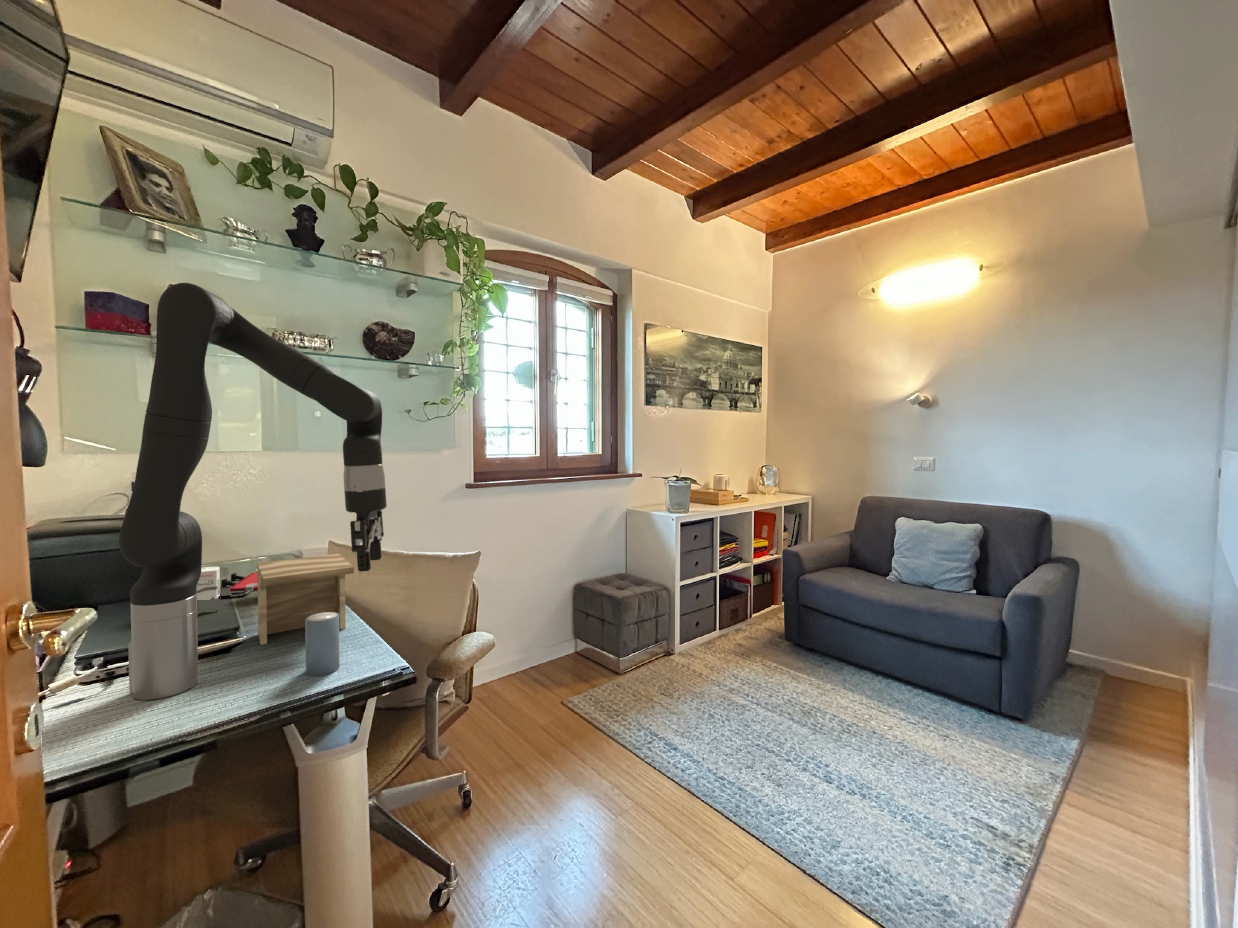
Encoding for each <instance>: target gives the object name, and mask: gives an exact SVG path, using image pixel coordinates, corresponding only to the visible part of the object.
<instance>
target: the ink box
mask: <svg viewBox="0 0 1238 928" xmlns="http://www.w3.org/2000/svg"><path fill="white" fill-rule="evenodd" d="M220 569H221V567H220V566H205V567H203V566H202V567H201V575H200V579H199V581H198V583H197V593H196V594H197V600H210V599H217V598H218V597H219V596H220V592H221V579H220V578H221V574H220V572H221V570H220Z"/></svg>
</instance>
